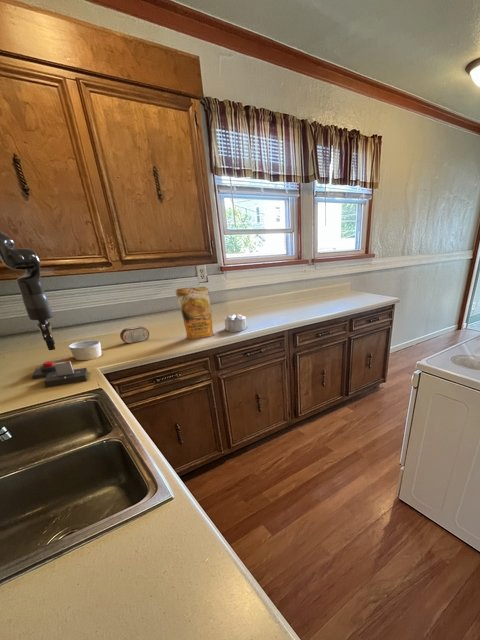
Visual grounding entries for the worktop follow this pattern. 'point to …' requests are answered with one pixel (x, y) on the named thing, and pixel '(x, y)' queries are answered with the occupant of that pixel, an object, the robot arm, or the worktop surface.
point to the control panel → (66, 378)
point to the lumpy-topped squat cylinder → (235, 323)
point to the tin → (134, 334)
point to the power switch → (43, 372)
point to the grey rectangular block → (64, 368)
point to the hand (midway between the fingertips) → (52, 347)
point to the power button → (48, 364)
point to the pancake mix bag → (196, 311)
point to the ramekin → (86, 350)
